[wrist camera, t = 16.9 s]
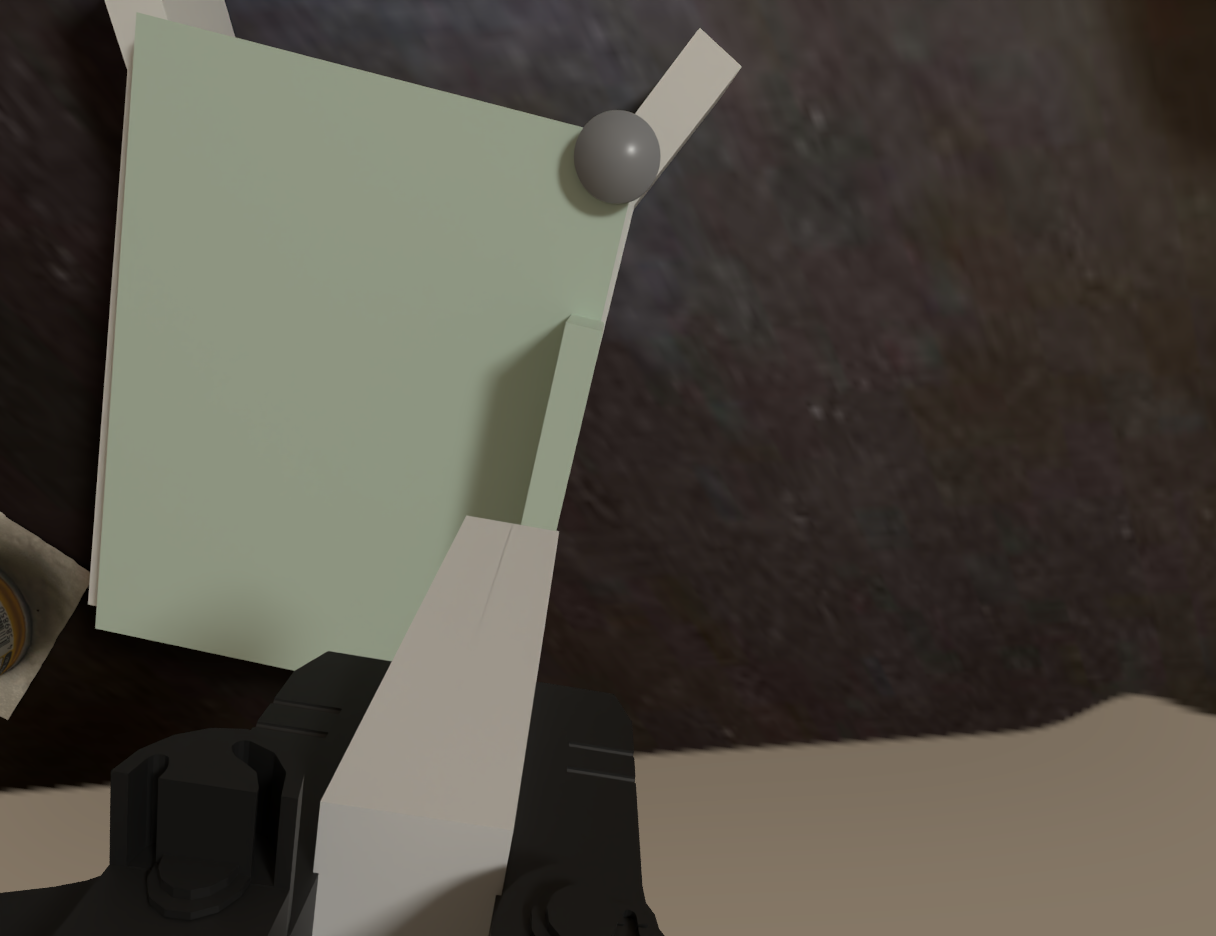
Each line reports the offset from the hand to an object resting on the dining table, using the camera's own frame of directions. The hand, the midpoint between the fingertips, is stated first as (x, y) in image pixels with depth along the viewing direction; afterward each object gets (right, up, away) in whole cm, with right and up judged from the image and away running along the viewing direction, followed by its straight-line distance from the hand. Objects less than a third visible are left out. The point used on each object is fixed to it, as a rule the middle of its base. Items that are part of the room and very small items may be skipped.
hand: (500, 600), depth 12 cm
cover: (-6, +4, +12) cm, 14 cm away
